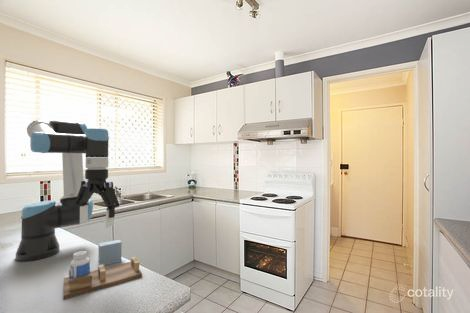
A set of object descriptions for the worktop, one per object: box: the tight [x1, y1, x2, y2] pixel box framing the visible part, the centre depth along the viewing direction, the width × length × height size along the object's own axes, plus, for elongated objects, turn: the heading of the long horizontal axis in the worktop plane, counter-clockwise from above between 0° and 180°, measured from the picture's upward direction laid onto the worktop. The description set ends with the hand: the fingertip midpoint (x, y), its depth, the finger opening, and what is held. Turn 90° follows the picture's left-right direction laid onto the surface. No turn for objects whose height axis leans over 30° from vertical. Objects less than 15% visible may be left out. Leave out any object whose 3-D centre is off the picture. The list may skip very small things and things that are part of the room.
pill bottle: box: [70, 250, 91, 279], centre depth 79 cm, size 6×5×10 cm
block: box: [98, 239, 122, 266], centre depth 97 cm, size 4×8×8 cm, turn 126°
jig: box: [63, 256, 143, 300], centre depth 83 cm, size 13×23×4 cm, turn 126°
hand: (96, 224), depth 88 cm, fingers open, 13 cm apart
